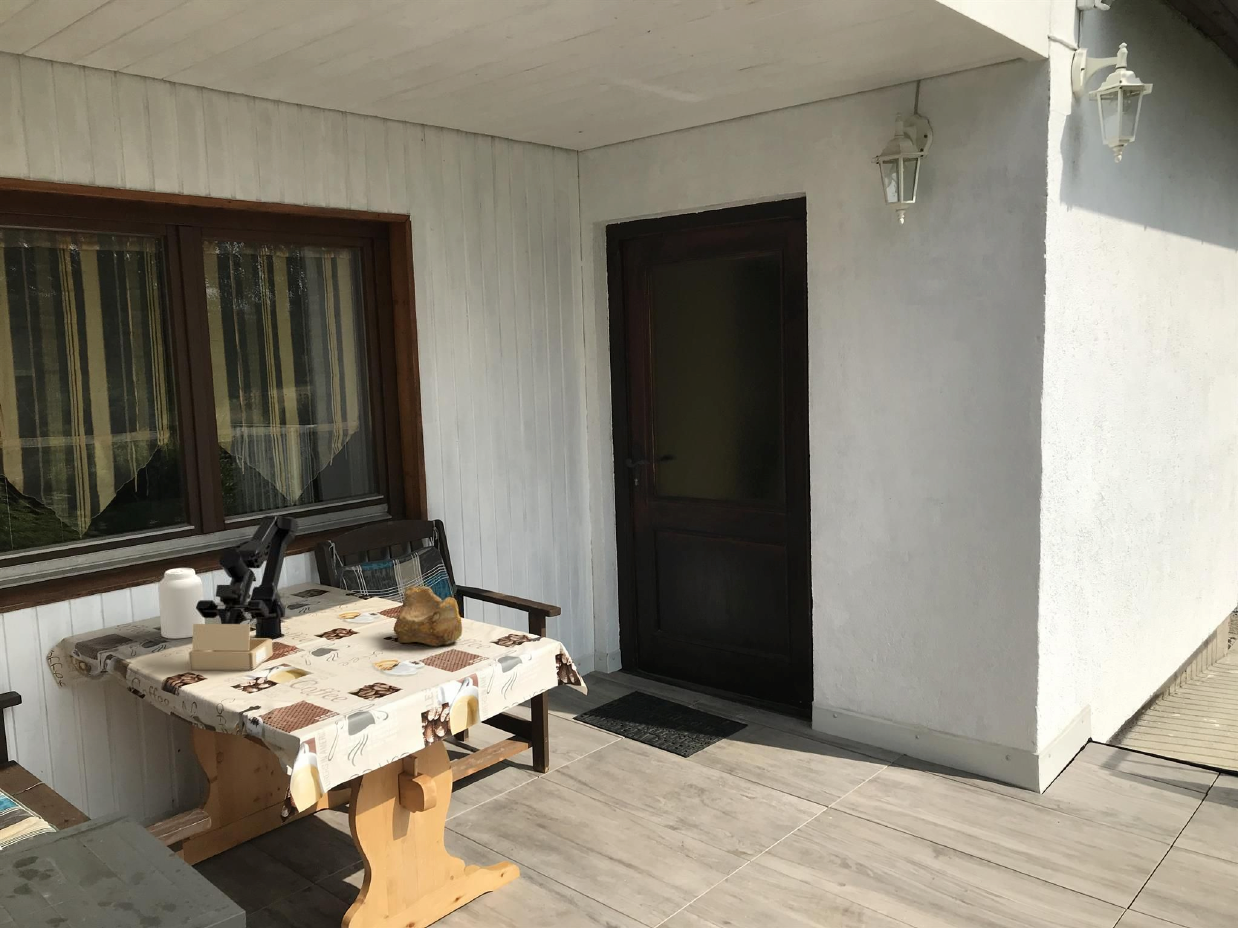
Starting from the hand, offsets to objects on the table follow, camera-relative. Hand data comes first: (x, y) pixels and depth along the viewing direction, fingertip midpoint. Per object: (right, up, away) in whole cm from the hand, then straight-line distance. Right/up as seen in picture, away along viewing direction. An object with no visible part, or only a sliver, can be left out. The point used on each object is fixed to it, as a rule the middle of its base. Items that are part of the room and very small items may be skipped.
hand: (224, 636), depth 270 cm
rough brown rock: (+50, -6, +23) cm, 55 cm away
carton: (0, -8, +5) cm, 9 cm away
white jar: (-26, -5, +34) cm, 43 cm away
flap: (0, -4, -2) cm, 4 cm away
